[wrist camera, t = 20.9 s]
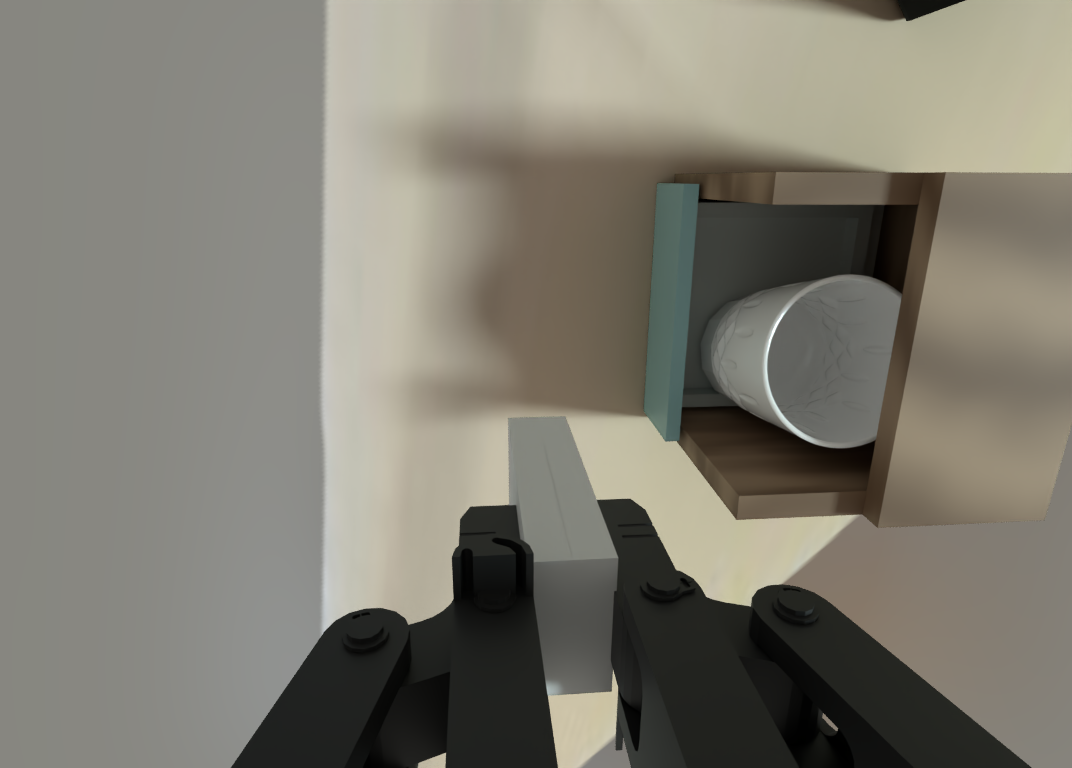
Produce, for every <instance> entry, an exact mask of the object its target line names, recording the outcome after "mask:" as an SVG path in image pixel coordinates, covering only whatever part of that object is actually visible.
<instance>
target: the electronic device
mask: <svg viewBox="0 0 1072 768" xmlns="http://www.w3.org/2000/svg"><path fill="white" fill-rule="evenodd" d="M897 1H898V3H899V5H900V7H901V10H902V12H903V14H904V16H905V19H906V21H910V20H913V19H916V18H918V17H921V16H924V15H927V14H929V13H932V12H935V11H938V10H940V9H943V8H946V7H949V6H951V5H954V4H957V3H959V2H962V1H965V0H897Z"/></svg>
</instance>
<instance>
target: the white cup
mask: <svg viewBox="0 0 1072 768" xmlns="http://www.w3.org/2000/svg"><path fill="white" fill-rule="evenodd" d="M901 298H902V294H901V293H900V292H899V291H898V290H896V289H895V288H894V287H892V286H890V285H889V284H887V283H885V282H883V281H881V280H878V279H875V278H872V277H869V276H864V275H855V274H846V275H837V276H831V277H826V278H821V279H816V280H810V281H804V282H799V283H793V284H788V285H783V286H780V287H775V288H771V289H766V290H762V291H759V292H756V293H752V294H749V295H746V296H743V297H740V298H737V299H734V300H731V301H729V302H727V303H726V304H725V305H724V306H723V307H722V308H721V309H720V310H719V311H718V312H717V313H716V314H715V315H714V316H713V317H712V318H711V319H710V320H709V321H708V324H707V327H706V329H705V332H704V335H703V337H702V340H701V343H700V349H701V363H702V370H703V371H704V373H705V375H706V377H707V378H708V380H709V382H710V383H711V385H712V387H713V389H714V390H715V391H717V392H718V393H720V394H721V395H723V396H724V397H726V398H727V399H729V400H730V401H732V402H734V403H735V404H737V405H738V406H739V407H741V408H743V409H744V410H746V411H748V412H750V413H752V414H753V415H755V416H757V417H759V418H761V419H763V420H765V421H767V422H769V423H771V424H773V425H775V426H777V427H779V428H781V429H783V430H786V431H788V432H790V433H792V434H794V435H796V436H798V437H800V438H802V439H804V440H806V441H808V442H810V443H813V444H816V445H819V446H823V447H829V448H851V447H857V446H861V445H864V444H867V443H870V442H873V441H875V440H876V436H877V431H878V425H879V420H880V414H881V409H882V403H883V398H884V392H885V386H886V381H887V375H888V370H889V364H890V359H891V353H892V348H893V342H894V337H895V331H896V326H897V320H898V315H899V309H900V304H901Z"/></svg>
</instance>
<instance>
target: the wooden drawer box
mask: <svg viewBox="0 0 1072 768" xmlns="http://www.w3.org/2000/svg"><path fill="white" fill-rule="evenodd" d="M675 183H678V184H699V196H698V198H703V199H714V200H726V201H737V202H749V203H760V204H771V205H885V206H884V212H883V218H882V224H881V230H880V236H879V242H878V248H877V254H876V260H875V266H874V272H873V278H875V279H878V280H881V281H883V282H885V283H887V284H889V285H890V286H892V287H894V288H895V289H896V290H898V291H899V292H900V293H901V294H902V298H901V304H900V309H899V315H898V320H897V326H896V331H895V337H894V342H893V348H892V353H891V359H890V364H889V370H888V375H887V381H886V386H885V392H884V398H883V403H882V409H881V414H880V420H879V425H878V431H877V436H876V440H875V441H873V442H870V443H867V444H864V445H861V446H857V447H851V448H829V447H823V446H819V445H816V444H813V443H810V442H808V441H806V440H804V439H802V438H800V437H798V436H796V435H794V434H792V433H790V432H788V431H786V430H783V429H781V428H779V427H777V426H775V425H773V424H771V423H769V422H767V421H765V420H763V419H761V418H759V417H757V416H755V415H753V414H752V413H750V412H748V411H746V410H744V409H743V408H741V407H739V406H714V407H682V412H681V424H680V437H679V441H677V442H678V444H679V445H680V446H681V448H682V449H683V450H684V451H685V453H686V454H687V455H688V457H689V458H690V459H691V461H692V462H693V463H694V465H695V466H696V467H697V469H698V470H699V471H700V472H701V474H702V475H703V476H704V478H705V479H706V480H707V482H708V483H709V484H710V486H711V487H712V488H713V490H714V491H715V492H716V493H717V495H718V496H719V497H720V499H721V500H722V501H723V503H724V504H725V505H726V507H727V508H728V509H729V510H730V512H731V513H732V514H733V516H734V517H735V518H736V520H744V519H767V518H790V517H813V516H836V515H860V514H862V515H864V516H865V517H866V518H867V519H868V520H869V521H870V522H872V523H873V524H874V525H875V526H876V527H877V528H886V527H908V526H931V525H953V524H974V523H996V522H1019V521H1041V520H1045V517H1046V514H1047V510H1048V507H1049V503H1050V499H1051V496H1052V492H1053V489H1054V485H1055V482H1056V478H1057V475H1058V471H1059V467H1060V464H1061V460H1062V457H1063V453H1064V450H1065V446H1066V443H1067V439H1068V436H1069V432H1070V429H1071V425H1072V173H956V172H942V173H879V172H753V173H708V174H675Z"/></svg>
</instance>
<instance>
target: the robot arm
mask: <svg viewBox="0 0 1072 768" xmlns="http://www.w3.org/2000/svg"><path fill="white" fill-rule="evenodd" d="M508 441H509V505H502V506H477V507H470V508H469V509H468V510H467V512H466V513H465V514H464V515H463V517H462V518H461V519H460V536H459V546H458V547H457V548H456V549H455V551H454V553H453V556H452V570H453V594H454V600H453V601H452V603H451V604H450V605H449V606H448V607H447V608H446V609H445V610H444V611H442V612H441V613H439V614H437V615H436V616H434V617H432V618H429V619H426V620H424V621H421V622H417V623H414V624H410V625H408V623H407V621H406V619H405V618H404V617H402V616H401V615H400V614H398V613H397V612H395V611H391V610H387V609H383V608H371V609H363V610H359V611H355V612H352V613H349V614H347V615H345V616H343V617H341V618H340V619H338V620H336V621H335V622H334V623H333V624H332V625H331V626H330V627H329V628H328V629H327V630H326V631H325V632H324V633H323V635H322V636H321V638H320V639H319V640H318V642H317V644H316V645H315V646H314V648H313V649H312V651H311V652H310V654H309V655H308V656H307V658H306V659H305V661H304V662H303V664H302V665H301V667H300V668H299V670H298V671H297V673H296V674H295V675H294V677H293V678H292V680H291V681H290V683H289V684H288V686H287V687H286V688H285V690H284V691H283V693H282V694H281V696H280V697H279V699H278V700H277V702H276V703H275V704H274V706H273V707H272V709H271V710H270V712H269V713H268V715H267V716H266V718H265V719H264V720H263V722H262V723H261V725H260V726H259V728H258V729H257V731H256V732H255V734H254V735H253V736H252V738H251V739H250V741H249V742H248V744H247V745H246V747H245V748H244V749H243V751H242V753H241V754H240V756H239V757H238V758H237V760H236V761H235V763H234V764H233V765H232V767H231V768H418V763H419V762H422V761H424V760H427V759H430V758H432V757H435V756H438V755H440V754H443V753H446V768H558V765H557V758H556V751H555V744H554V737H553V730H552V723H551V716H550V709H549V702H548V696H549V695H564V694H579V693H594V692H610V691H612V674H613V670H614V674H615V677H616V681H617V685H618V704H617V722H616V750H622V743H623V738H624V741H625V745H626V749H627V753H628V757H629V761H630V765H631V768H1031V767H1030V766H1029V765H1027V764H1026V763H1025V762H1024V761H1023V760H1022V759H1020V758H1019V757H1018V756H1017V755H1015V754H1014V753H1013V752H1012V751H1011V750H1009V749H1008V748H1007V747H1006V746H1004V745H1003V744H1002V743H1001V742H1000V741H998V740H997V739H996V738H995V737H993V736H992V735H991V734H990V733H988V732H987V731H986V730H985V729H984V728H982V727H981V726H980V725H979V724H978V723H976V722H975V721H974V720H973V719H971V718H970V717H969V716H968V715H966V714H965V713H964V712H963V711H962V710H960V709H959V708H958V707H957V706H955V705H954V704H953V703H952V702H951V701H949V700H948V699H947V698H946V697H944V696H943V695H942V694H941V693H940V692H938V691H937V690H936V689H935V688H933V687H932V686H931V685H930V684H929V683H927V682H926V681H925V680H924V679H922V678H921V677H920V676H919V675H918V674H916V673H915V672H914V671H913V670H911V669H910V668H909V667H908V666H907V665H905V664H904V663H903V662H902V661H900V660H899V659H898V658H897V657H895V656H894V655H893V654H892V653H891V652H889V651H888V650H887V649H886V648H884V647H883V646H882V645H881V644H880V643H878V642H877V641H876V640H875V639H873V638H872V637H871V636H870V635H869V634H867V633H866V632H865V631H864V630H862V629H861V628H860V627H859V626H858V625H856V624H855V623H854V622H852V621H851V620H850V619H849V618H848V617H846V616H845V615H844V614H843V613H842V612H840V611H839V610H838V609H837V608H836V607H834V606H833V605H832V604H831V603H829V602H828V601H827V600H825V599H824V598H822V597H820V596H819V595H817V594H815V593H814V592H811V591H808V590H806V589H802V588H800V587H796V586H790V585H783V584H782V585H770V586H766V587H764V588H761V589H759V590H757V592H756V593H755V595H754V596H753V597H752V603H751V607H750V606H744V605H737V604H731V603H725V602H721V601H716V600H712V599H710V598H707V597H706V596H705V594H704V592H703V590H702V589H701V587H700V586H699V585H698V584H697V582H696V581H695V580H694V579H693V578H691V577H690V576H688V575H686V574H684V573H683V572H681V571H677V570H676V569H675V567H674V565H673V563H672V561H671V559H670V557H669V555H668V553H667V551H666V549H665V548H664V546H663V544H662V542H661V540H660V538H659V537H658V534H657V532H656V530H655V528H654V526H652V522H651V520H650V518H649V516H648V514H647V512H646V510H645V509H643V508H642V507H641V506H639V505H638V504H637V503H635V502H634V501H633V500H631V499H610V500H596V497H595V494H594V492H593V489H592V486H591V484H590V481H589V478H588V476H587V473H586V470H585V468H584V465H583V462H582V459H581V457H580V454H579V451H578V449H577V446H576V443H575V441H574V438H573V435H572V433H571V430H570V427H569V425H568V422H567V419H566V417H565V416H560V417H525V418H508ZM823 713H824V714H825V715H826V716H827V717H828V718H829V719H830V720H831V721H832V722H833V723H834V724H835V725H836V726H837V728H838V731H835V730H834V729H833V728H832V727H831V726H829V725H828V724H827V723H826V721H825V720H824V719H823V718H822V715H823Z"/></svg>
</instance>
